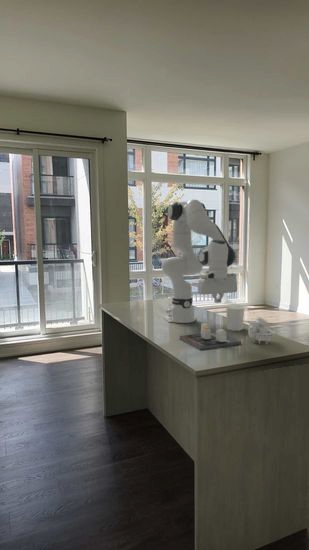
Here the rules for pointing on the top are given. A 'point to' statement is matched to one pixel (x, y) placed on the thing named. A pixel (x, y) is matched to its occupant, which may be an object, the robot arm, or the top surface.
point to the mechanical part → (260, 330)
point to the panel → (208, 341)
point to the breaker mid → (205, 333)
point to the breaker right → (221, 335)
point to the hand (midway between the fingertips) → (217, 302)
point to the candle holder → (235, 317)
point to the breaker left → (205, 325)
